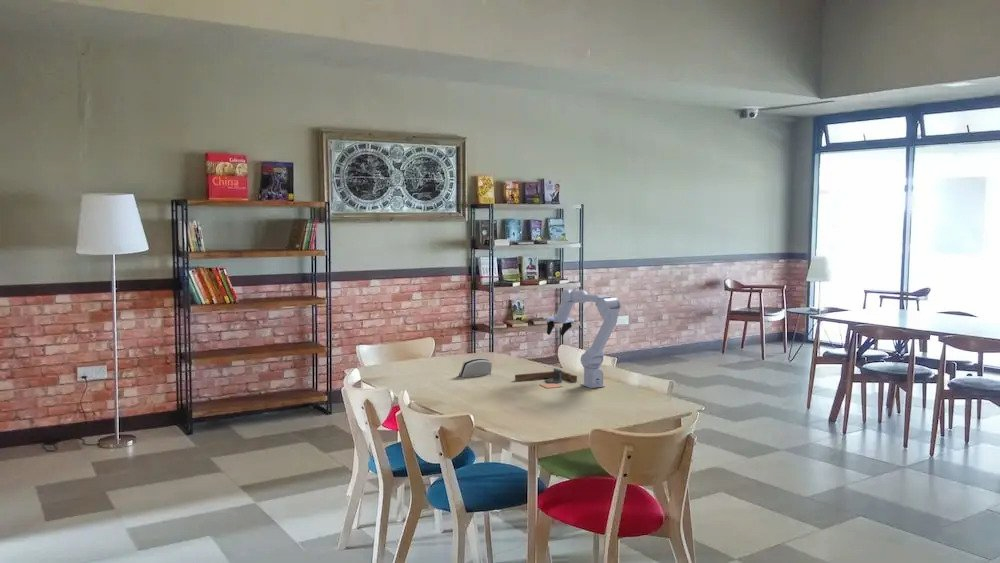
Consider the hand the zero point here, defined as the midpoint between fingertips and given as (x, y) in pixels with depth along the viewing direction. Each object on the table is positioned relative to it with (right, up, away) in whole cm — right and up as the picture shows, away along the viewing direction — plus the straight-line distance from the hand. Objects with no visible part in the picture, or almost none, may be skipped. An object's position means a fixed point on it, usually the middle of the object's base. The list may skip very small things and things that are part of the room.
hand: (554, 334), depth 405 cm
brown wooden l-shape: (-5, -22, -8) cm, 24 cm away
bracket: (-1, -22, -10) cm, 25 cm away
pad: (-3, -23, -19) cm, 30 cm away
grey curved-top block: (-39, -21, +6) cm, 45 cm away
